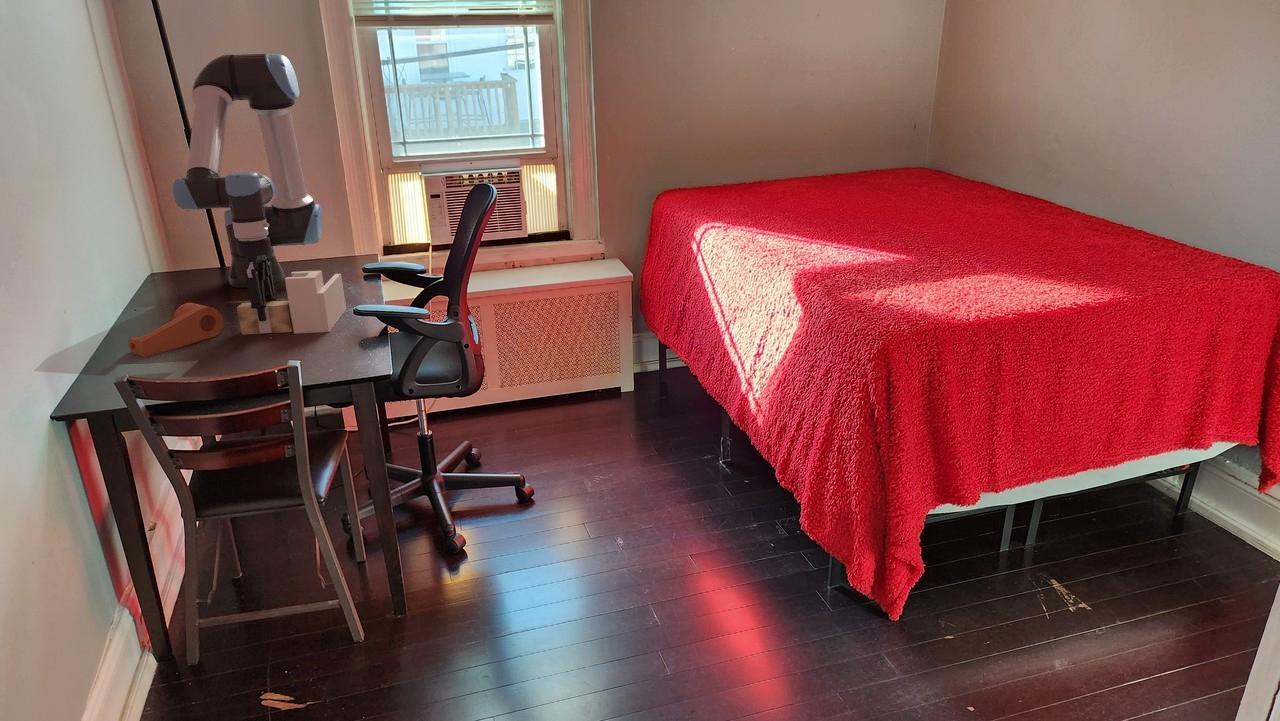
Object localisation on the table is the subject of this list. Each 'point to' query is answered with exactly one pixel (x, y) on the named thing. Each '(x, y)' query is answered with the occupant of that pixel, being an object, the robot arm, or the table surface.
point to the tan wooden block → (277, 313)
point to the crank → (180, 330)
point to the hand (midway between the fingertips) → (269, 329)
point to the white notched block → (314, 301)
